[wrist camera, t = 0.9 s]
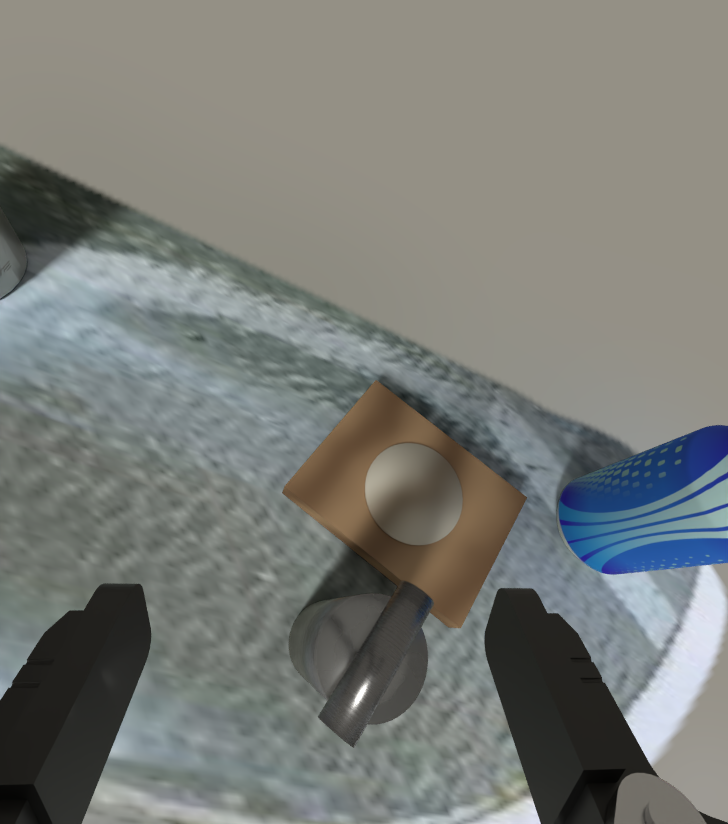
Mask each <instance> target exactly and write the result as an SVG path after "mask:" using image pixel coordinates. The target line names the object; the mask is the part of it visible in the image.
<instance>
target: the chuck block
mask: <svg viewBox="0 0 728 824" xmlns="http://www.w3.org/2000/svg"><path fill="white" fill-rule="evenodd" d="M282 493H283V494H284V495H285V496H287V497H288V498H289V499H290V500H292V501H293V502H294V503H295V504H297V505H298V506H299V507H300V508H301V509H303V510H304V511H305V512H306V513H308V514H309V515H310V516H311V517H313V518H314V519H315V520H316V521H318V522H319V523H320V524H321V525H323V526H324V527H325V528H326V529H327V530H329V531H330V532H331V533H332V534H334V535H335V536H336V537H337V538H339V539H340V540H341V541H342V542H344V543H345V544H346V545H347V546H349V547H350V548H351V549H352V550H353V551H355V552H356V553H357V554H358V555H360V556H361V557H362V558H363V559H365V560H366V561H367V562H368V563H370V564H371V565H372V566H373V567H374V568H376V569H377V570H378V571H379V572H381V573H382V574H383V575H384V576H386V577H387V578H388V579H389V580H391V581H392V582H393V583H394V584H396V585H397V586H398V585H399V583H400V582H401V581H402V580H404V581H407V582H410V583H412V584H413V585H415V586H417V587H418V588H420V589H421V590H423V591H424V592H425V593H426V594H427V595H428V596H429V597H430V598H431V599H432V600H433V602H434V605H433V607H432V609H431V611H430V613H431V614H433V615H434V616H435V617H436V618H438V619H439V620H440V621H441V622H443V623H444V624H445V625H446V626H448V627H449V628H461V626H462V625H463V623H464V621H465V619H466V617H467V615H468V613H469V611H470V609H471V607H472V605H473V603H474V601H475V599H476V597H477V595H478V593H479V591H480V589H481V587H482V585H483V583H484V581H485V579H486V577H487V575H488V573H489V571H490V569H491V568H492V566H493V564H494V562H495V560H496V558H497V556H498V554H499V552H500V550H501V548H502V546H503V544H504V542H505V540H506V538H507V536H508V534H509V532H510V530H511V528H512V526H513V524H514V522H515V520H516V518H517V516H518V514H519V512H520V510H521V509H522V507H523V505H524V503H525V501H526V499H527V497H526V496H525V495H523V494H522V493H521V492H519V491H518V490H517V489H516V488H514V487H513V486H512V485H510V484H509V483H508V482H507V481H505V480H504V479H503V478H501V477H500V476H499V475H498V474H496V473H495V472H494V471H492V470H491V469H490V468H489V467H487V466H486V465H485V464H483V463H482V462H481V461H480V460H478V459H477V458H476V457H474V456H473V455H472V454H471V453H469V452H468V451H467V450H465V449H464V448H463V447H462V446H460V445H459V444H458V443H456V442H455V441H454V440H453V439H451V438H450V437H449V436H447V435H446V434H445V433H444V432H442V431H441V430H440V429H438V428H437V427H436V426H435V425H433V424H432V423H431V422H429V421H428V420H427V419H426V418H424V417H423V416H422V415H420V414H419V413H418V412H417V411H415V410H414V409H413V408H411V407H410V406H409V405H408V404H406V403H405V402H404V401H402V400H401V399H400V398H399V397H397V396H396V395H395V394H393V393H392V392H391V391H390V390H388V389H387V388H386V387H384V386H383V385H382V384H381V383H379V382H378V381H377V380H376V381H375V382H374V383H373V384H372V385H371V386H370V388H369V389H368V390H367V391H366V392H365V393H364V394H363V396H362V397H361V398H360V399H359V400H358V401H357V403H356V404H355V405H354V406H353V407H352V408H351V410H350V411H349V412H348V413H347V414H346V415H345V417H344V418H343V419H342V420H341V421H340V422H339V424H338V425H337V426H336V427H335V428H334V429H333V431H332V432H331V433H330V434H329V435H328V436H327V438H326V439H325V440H324V441H323V442H322V443H321V445H320V446H319V447H318V448H317V449H316V450H315V452H314V453H313V454H312V455H311V456H310V457H309V459H308V460H307V461H306V462H305V463H304V464H303V466H302V467H301V468H300V469H299V470H298V471H297V473H296V474H295V475H294V476H293V477H292V478H291V480H290V481H289V482H288V483H287V484H286V485H285V487H284V490H283V492H282Z"/></svg>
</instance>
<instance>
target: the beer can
mask: <svg viewBox="0 0 728 824" xmlns="http://www.w3.org/2000/svg"><path fill="white" fill-rule="evenodd" d="M556 518H557V526H558V530H559V533H560V535H561V538H562V539H563V541H564V543H565V545H566V546H567V547H568V549H569V550H570V551H571V552H572V553H573V554H574V555H575V556H576V557H577V558H578V559H580V560H581V561H582V562H583V563H585V564H586V565H587V566H589V567H590V568H592V569H594V570H596V571H598V572H601V573H605V574H613V575H614V574H625V573H634V572H644V571H653V570H663V569H673V568H682V567H692V566H701V565H711V564H720V563H728V426H723V425H716V426H709V427H705V428H702V429H700V430H697V431H694V432H692V433H689V434H687V435H684V436H682V437H679V438H677V439H674V440H672V441H670V442H667V443H664V444H662V445H659V446H657V447H654V448H652V449H649V450H647V451H644V452H642V453H639V454H637V455H634V456H632V457H629V458H627V459H624V460H622V461H619V462H617V463H614V464H612V465H609V466H607V467H604V468H602V469H599V470H597V471H594V472H592V473H589V474H587V475H584V476H582V477H579V478H577V479H574V480H573V481H571V482H570V483H569V484H568V485H567V486H566V487H565V488H564V490H563V491H562V494H561V496H560V499H559V504H558V507H557V515H556Z"/></svg>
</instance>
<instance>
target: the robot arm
mask: <svg viewBox="0 0 728 824" xmlns="http://www.w3.org/2000/svg"><path fill="white" fill-rule="evenodd" d="M26 266H27V256H26V252H25V249H24V247H23V245H22V243H21V241H20V240H19V238H18V236H17V234H16V233H15V231H14V229H13V228H12V226H11V224H10V222H9V221H8V219H7V217H6V215H5V214H4V212H3V210H2V208H1V206H0V298H2V297H3V296H5V295H6V294H7V293H9V292H10V291H12V290H13V289H14V287H15V286H16V285H17V284H18V283H19V282H20V280H21V279H22V277H23V275H24V273H25V270H26ZM150 643H151V627H150V622H149V617H148V612H147V607H146V602H145V597H144V592H143V588H142V586H141V585H140V584H102V585H100V586H99V587H98V588H97V589H96V591H95V592H94V594H93V596H92V597H91V599H90V601H89V603H88V604H87V606H86V608H85V609H84V611H69V612H67V613H66V614H65V615H64V616H63V617H62V618H61V619H59V620H58V621H57V622H56V623H55V624H54V625H53V626H52V627H50V628H49V629H48V630H47V631H46V632H45V633H44V634H43V636H42V637H41V639H40V640H39V642H38V643H37V645H36V647H35V648H34V650H33V651H32V653H31V654H30V656H29V657H28V659H27V663H26V665H23V666H22V668H21V670H20V671H19V673H18V674H17V676H16V677H15V679H14V680H13V682H12V686H11V688H8V689H7V691H6V693H5V694H4V696H3V697H2V699H1V700H0V824H82V821H83V819H84V816H85V814H86V811H87V809H88V806H89V804H90V801H91V799H92V796H93V794H94V791H95V789H96V786H97V784H98V781H99V779H100V776H101V773H102V771H103V768H104V766H105V763H106V761H107V758H108V756H109V753H110V751H111V748H112V746H113V743H114V741H115V738H116V736H117V733H118V731H119V728H120V726H121V723H122V721H123V718H124V716H125V713H126V711H127V708H128V706H129V703H130V701H131V698H132V695H133V693H134V690H135V688H136V685H137V683H138V680H139V678H140V675H141V673H142V670H143V668H144V665H145V663H146V660H147V657H148V653H149V649H150ZM485 651H486V657H487V660H488V664H489V667H490V670H491V673H492V676H493V679H494V682H495V685H496V688H497V691H498V694H499V697H500V700H501V703H502V706H503V709H504V712H505V715H506V719H507V722H508V725H509V728H510V731H511V734H512V737H513V740H514V743H515V746H516V749H517V752H518V755H519V758H520V761H521V764H522V767H523V770H524V773H525V777H526V780H527V783H528V786H529V789H530V792H531V795H532V798H533V801H534V804H535V807H536V810H537V813H538V816H539V819H540V822H541V824H728V823H727V822H724V821H721V820H719V819H716V818H713V817H710V816H708V815H706V814H703V813H701V812H700V811H698V810H697V809H696V808H695V807H694V805H693V804H692V803H691V802H690V801H689V800H688V799H687V798H686V797H685V796H684V795H683V794H682V793H681V792H680V791H679V790H677V789H676V788H675V787H674V786H672V785H671V784H669V783H667V782H666V781H664V780H663V779H661V778H659V776H658V775H657V774H656V772H655V771H654V770H653V768H652V767H651V765H650V763H649V762H648V760H647V758H646V756H645V755H644V753H643V751H642V749H641V747H640V746H639V744H638V742H637V740H636V738H635V736H634V735H633V733H632V731H631V729H630V727H629V726H628V724H627V722H626V720H625V718H624V717H623V715H622V713H621V711H620V709H619V707H618V706H617V704H616V702H615V700H614V698H613V697H612V695H611V693H610V691H609V689H608V687H607V686H606V684H605V683H603V682H602V677H601V675H600V673H599V671H598V669H597V668H596V666H595V664H594V662H592V661H591V657H590V655H589V653H588V651H587V649H586V648H585V646H584V644H583V642H582V640H581V639H580V637H579V635H578V633H577V632H576V631H575V630H574V629H573V628H572V627H571V626H570V625H569V624H568V623H567V622H566V621H565V620H564V619H563V618H562V617H561V616H560V615H559V614H556V613H547V611H546V609H545V608H544V606H543V604H542V602H541V600H540V598H539V596H538V594H537V593H536V591H535V590H533V589H530V588H500V589H499V590H498V591H497V594H496V597H495V600H494V604H493V607H492V610H491V614H490V617H489V620H488V624H487V627H486V631H485Z"/></svg>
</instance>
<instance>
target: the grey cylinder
mask: <svg viewBox="0 0 728 824" xmlns="http://www.w3.org/2000/svg"><path fill="white" fill-rule="evenodd" d="M433 605H434V602H433V600H432V599H431V598H430V597H429V596H428V595H427V594H426V593H425V592H424V591H423V590H421V589H420V588H418V587H417V586H415V585H413V584H412V583H410V582H407V581H404V580H402V581H401V582H400V583H399V585H398V587H397V588H396V590H395V592H394V593H393V595H392V596H391V597H390V596H388V595H384V594H379V593H368V594H360V595H354V596H348V597H341V598H335V599H329V600H323V601H318V602H315V603H313V604H311V605H309V606H308V607H306V608H305V609H304V610H303V611H302V612H301V613H300V614H299V615H298V617H297V618H296V620H295V621H294V623H293V626H292V628H291V631H290V636H289V654H290V658H291V661H292V663H293V665H294V667H295V669H296V670H297V671H298V673H299V674H300V675H301V676H302V677H303V678H304V679H305V680H306V681H307V682H308V683H310V684H311V685H312V686H313V687H314V688H315V689H316V690H317V691H318V692H319V693H320V694H321V695H322V696H323V697H324V698H325V699H326V700H327V703H326V704H325V706H324V708H323V709H322V711H321V712H320V714H319V716H318V718H319V719H320V720H321V721H322V722H323V723H324V724H326V725H327V726H328V727H329V728H330V729H331V730H332V731H333V732H335V733H336V734H337V735H338V736H339V737H340V738H342V739H343V740H344V741H345V742H346V743H348V744H349V745H350V746H352V747H353V748H354V747H355V746H356V744H357V742H358V740H359V738H360V737H361V735H362V733H363V731H364V729H365V728H366V726H367V724H381V723H385V722H388V721H391V720H393V719H395V718H397V717H398V716H400V715H401V714H403V713H404V712H405V711H406V710H407V709H408V708H409V707H410V706H411V705H412V704H413V702H414V701H415V700H416V698H417V696H418V695H419V693H420V691H421V689H422V686H423V684H424V680H425V677H426V672H427V665H428V651H427V644H426V639H425V636H424V633H423V630H422V628H421V627H422V625H423V623H424V621H425V620H426V618H427V616H428V614H429V612H430V611H431V609H432V607H433Z"/></svg>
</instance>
